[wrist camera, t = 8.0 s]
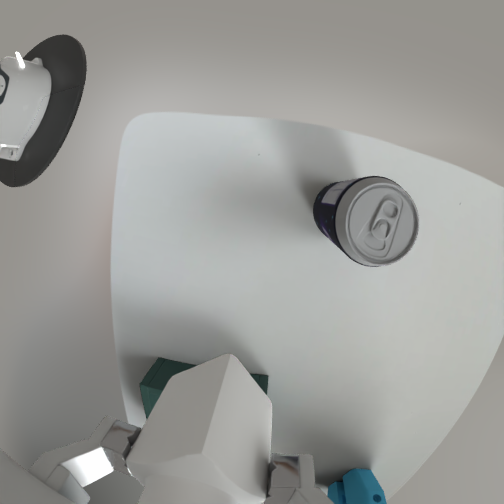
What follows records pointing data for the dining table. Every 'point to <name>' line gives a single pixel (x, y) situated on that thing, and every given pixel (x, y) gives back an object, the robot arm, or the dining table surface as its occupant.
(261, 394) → the salt shaker
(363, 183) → the beverage can
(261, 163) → the dining table surface
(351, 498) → the block
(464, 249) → the dining table surface
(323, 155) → the dining table surface
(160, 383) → the bin
